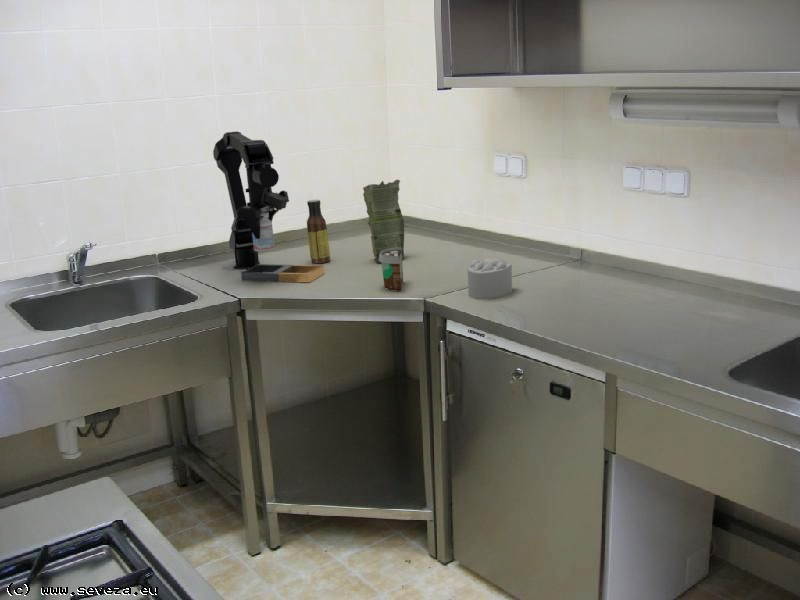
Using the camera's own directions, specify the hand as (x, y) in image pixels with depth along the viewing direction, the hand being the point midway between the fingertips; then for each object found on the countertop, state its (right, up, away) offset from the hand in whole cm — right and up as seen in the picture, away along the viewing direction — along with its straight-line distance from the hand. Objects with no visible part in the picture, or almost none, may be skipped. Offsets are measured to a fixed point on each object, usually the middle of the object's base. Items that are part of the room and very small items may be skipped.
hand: (262, 236), depth 251 cm
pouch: (+37, -6, +17) cm, 41 cm away
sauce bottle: (+15, -7, +19) cm, 25 cm away
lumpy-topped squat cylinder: (+64, -17, -27) cm, 72 cm away
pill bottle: (0, -4, +1) cm, 4 cm away
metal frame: (+6, -12, +2) cm, 13 cm away
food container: (+38, -15, -16) cm, 44 cm away
